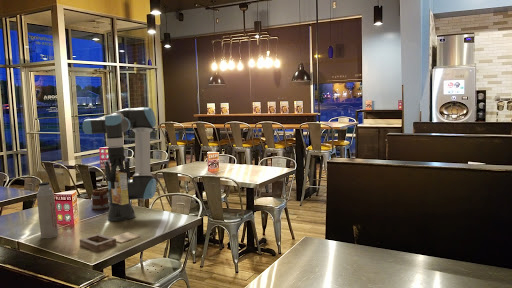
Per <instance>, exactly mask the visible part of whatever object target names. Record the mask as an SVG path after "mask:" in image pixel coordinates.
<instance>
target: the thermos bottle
mask: <svg viewBox="0 0 512 288" xmlns="http://www.w3.org/2000/svg"><path fill="white" fill-rule="evenodd" d="M38 188H39V189H37V194H36V203H37V212H38V221H39V230H40V231H39V232H40V238H41V239H43V238H47V239H52V237H53V238H55V237H57V236H58V235H59V232H58V231H59V229H58V221H57V220H58V219H57V212H56V211H57V210H56V202H55V193H54V192H53V189H52V188H51V187H50V182H47V181H45V182H40V183H38Z"/></svg>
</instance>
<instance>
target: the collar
mask: <svg viewBox="0 0 512 288" xmlns="http://www.w3.org/2000/svg"><path fill="white" fill-rule="evenodd" d="M111 237H112V236H108V235H104V234H102V233H101V234H100V233H96V234H93V235H89V236H86V237H83V238H80V239H79V246H80V247H83V248H85V247H86V249H87V250H92V251H93V252H97V253H98V252H101V251H104V250H106V249H109V248H111V247H115V246H117V242H116V239H115V238H111Z"/></svg>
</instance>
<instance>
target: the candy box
mask: <svg viewBox="0 0 512 288" xmlns="http://www.w3.org/2000/svg"><path fill="white" fill-rule="evenodd" d="M115 182H117V194H118V195H113V189H111V191H112V203H116V204H120V205H124V204H128V203H129V200H128V187H127V173H124V172H120V171H117V170H116V175H115Z"/></svg>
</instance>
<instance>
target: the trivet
mask: <svg viewBox="0 0 512 288" xmlns="http://www.w3.org/2000/svg"><path fill="white" fill-rule="evenodd" d="M110 237H111V238H115V239H116V243H119V244H123V243H126V242H130V241H133V240H135V239H138V238H140V237H141V235H140V234H136V233H132V232H129V231H126V232H124V233H121V234H117V235H114V236H110Z"/></svg>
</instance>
